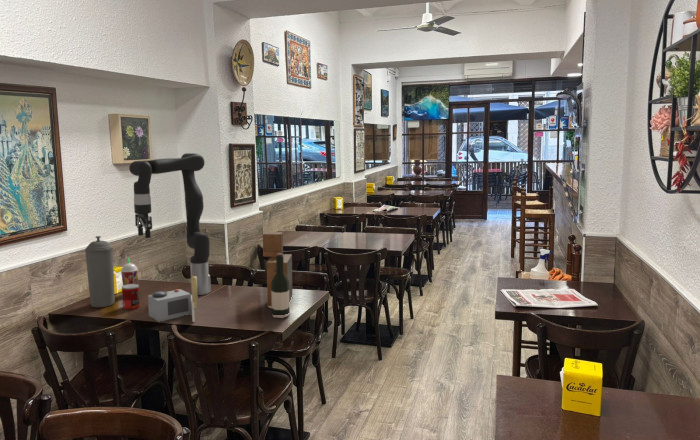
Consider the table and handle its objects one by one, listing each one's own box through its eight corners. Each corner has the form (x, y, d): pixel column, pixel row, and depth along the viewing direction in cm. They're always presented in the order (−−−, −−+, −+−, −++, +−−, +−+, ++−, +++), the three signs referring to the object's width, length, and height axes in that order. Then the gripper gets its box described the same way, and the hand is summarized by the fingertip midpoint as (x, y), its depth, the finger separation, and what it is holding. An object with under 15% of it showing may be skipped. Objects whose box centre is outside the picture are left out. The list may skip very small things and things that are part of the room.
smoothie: (142, 293, 281) (140, 257, 278) (128, 297, 274) (126, 260, 271) (132, 291, 285) (130, 255, 282) (119, 295, 278) (116, 258, 275)
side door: (191, 313, 248) (189, 271, 245) (197, 313, 249) (195, 271, 246) (192, 322, 236) (190, 278, 233) (198, 321, 237) (197, 277, 234)
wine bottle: (281, 319, 242) (281, 256, 237) (268, 316, 246) (267, 254, 241) (293, 314, 249) (292, 253, 244) (279, 311, 253) (278, 251, 248)
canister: (122, 301, 267) (118, 234, 262) (104, 309, 255) (100, 239, 249) (100, 299, 270) (96, 233, 265) (82, 307, 258) (77, 237, 252)
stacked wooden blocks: (265, 296, 277) (264, 232, 272) (292, 297, 277) (291, 232, 272) (259, 308, 258) (257, 238, 253) (288, 308, 258) (287, 239, 253)
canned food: (134, 310, 254) (132, 288, 252) (119, 309, 255) (118, 287, 254) (143, 305, 261) (142, 284, 260) (129, 304, 263) (127, 283, 261)
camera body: (181, 308, 257) (180, 286, 255) (191, 314, 249) (190, 291, 247) (148, 315, 246) (147, 292, 244) (158, 321, 238) (157, 297, 236)
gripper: (156, 203, 246) (158, 237, 248) (144, 201, 256) (146, 233, 258) (140, 205, 241) (142, 239, 243) (128, 202, 251) (130, 235, 253)
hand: (144, 236), depth 251 cm, fingers open, 8 cm apart
